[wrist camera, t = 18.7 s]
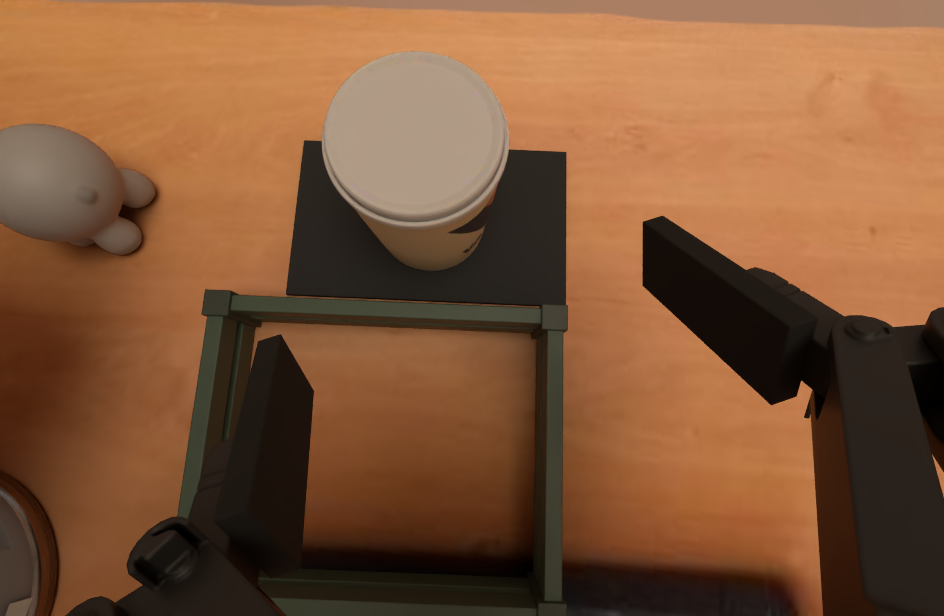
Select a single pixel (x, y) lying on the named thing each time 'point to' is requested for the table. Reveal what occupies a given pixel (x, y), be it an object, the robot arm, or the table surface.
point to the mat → (472, 281)
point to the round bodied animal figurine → (67, 189)
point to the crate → (391, 593)
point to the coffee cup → (418, 154)
